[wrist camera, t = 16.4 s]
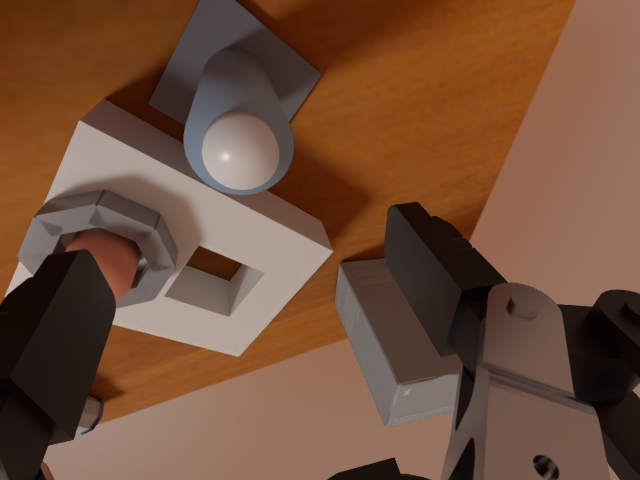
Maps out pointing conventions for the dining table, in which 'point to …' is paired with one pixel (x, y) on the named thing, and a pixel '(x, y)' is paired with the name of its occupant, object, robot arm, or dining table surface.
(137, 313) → the housing
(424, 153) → the dining table surface
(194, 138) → the cartridge
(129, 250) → the brown egg
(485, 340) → the robot arm
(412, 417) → the skincare box
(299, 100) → the mat
